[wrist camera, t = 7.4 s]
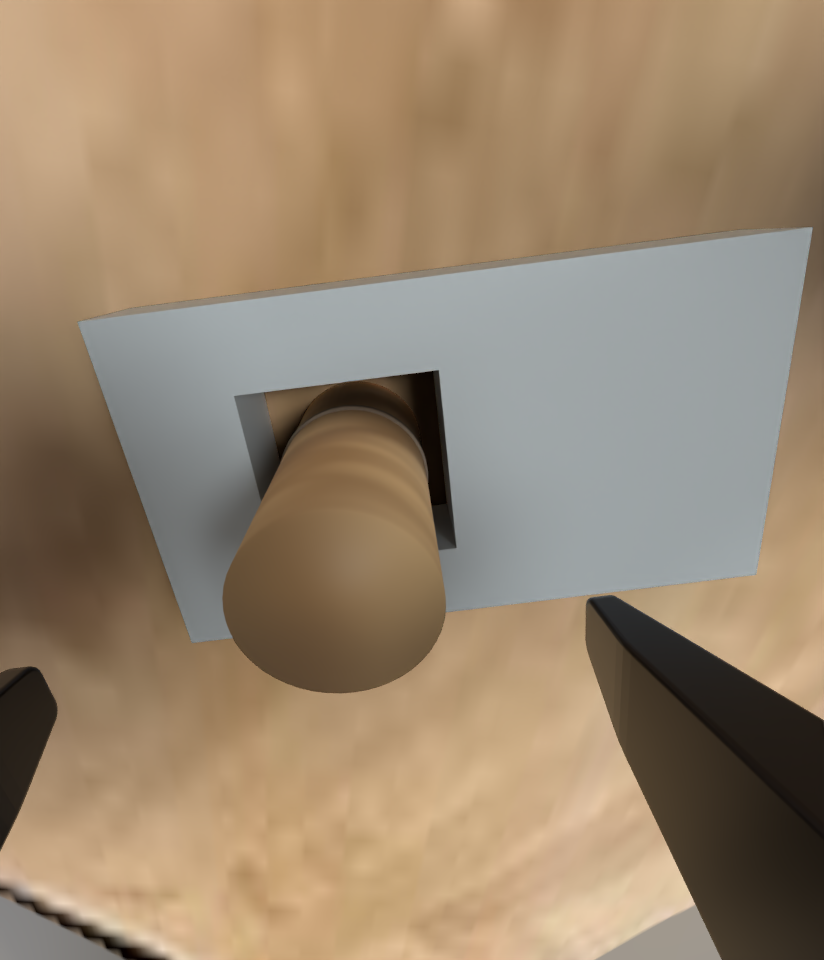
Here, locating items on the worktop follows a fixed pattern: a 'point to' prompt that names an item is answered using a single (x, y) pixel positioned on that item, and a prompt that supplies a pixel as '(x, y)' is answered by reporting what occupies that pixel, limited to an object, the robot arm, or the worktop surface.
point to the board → (488, 410)
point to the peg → (341, 550)
